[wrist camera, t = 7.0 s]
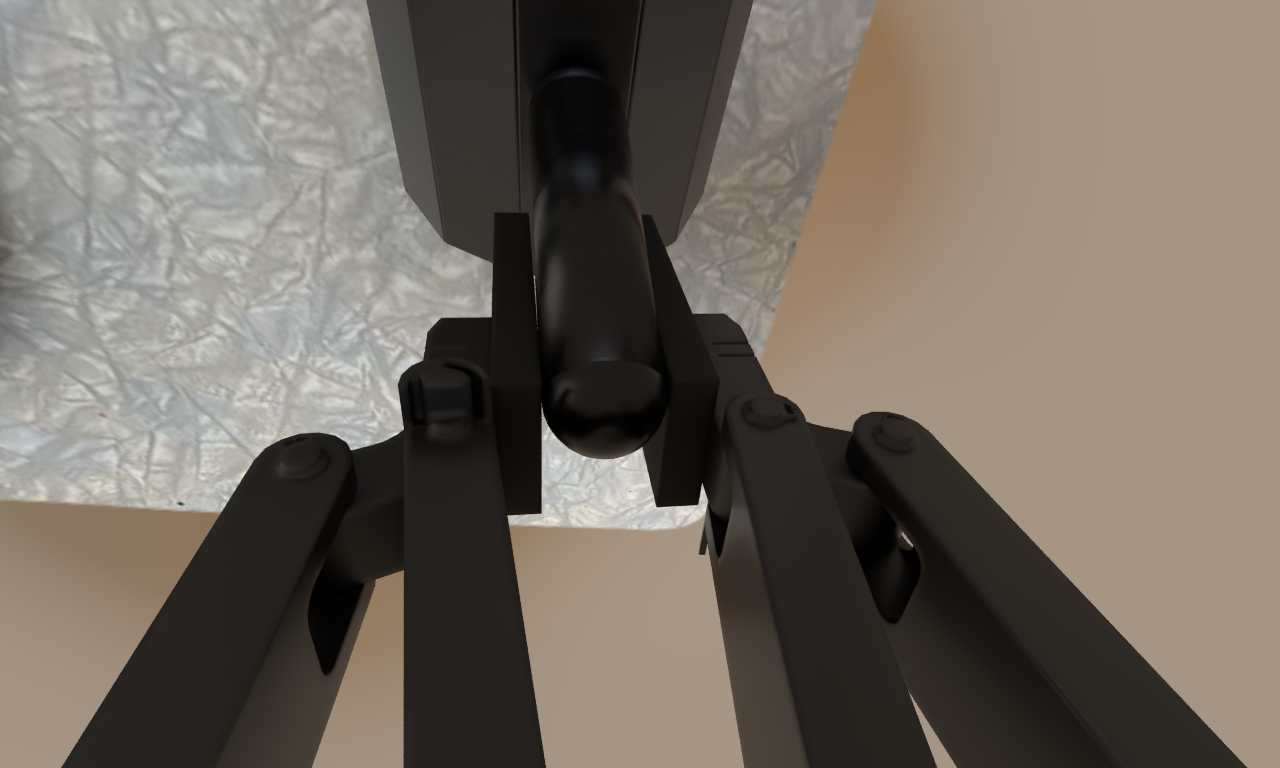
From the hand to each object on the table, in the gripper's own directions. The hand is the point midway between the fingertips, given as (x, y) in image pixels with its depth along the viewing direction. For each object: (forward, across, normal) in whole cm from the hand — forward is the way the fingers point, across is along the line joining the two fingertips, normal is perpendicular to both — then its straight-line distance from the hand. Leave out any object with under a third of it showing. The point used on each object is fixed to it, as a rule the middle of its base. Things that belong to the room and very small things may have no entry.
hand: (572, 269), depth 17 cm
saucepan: (+3, 0, -2) cm, 4 cm away
